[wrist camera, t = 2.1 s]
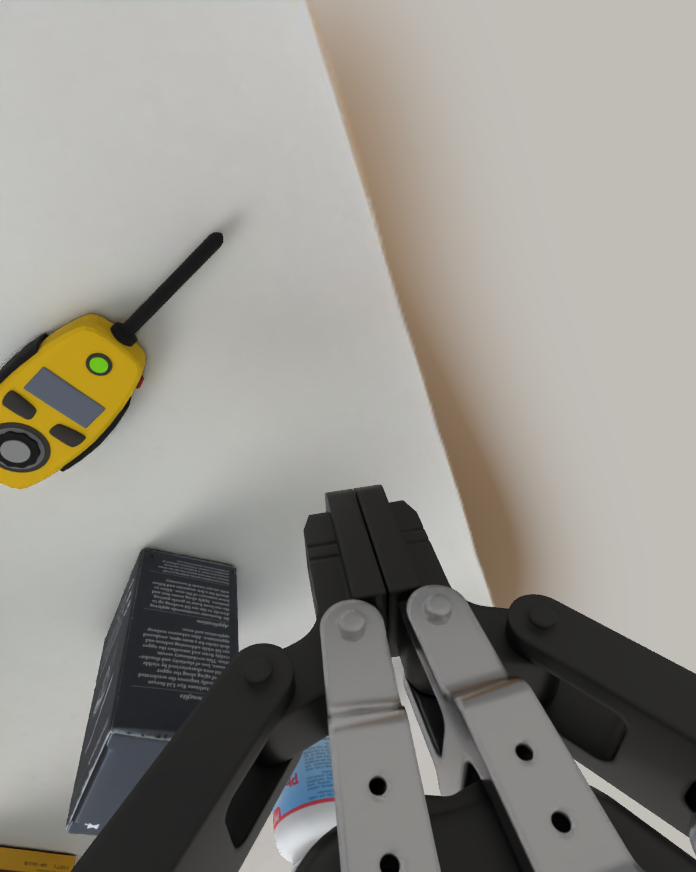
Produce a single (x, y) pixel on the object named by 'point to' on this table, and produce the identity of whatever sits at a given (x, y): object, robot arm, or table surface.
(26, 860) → the supplement box
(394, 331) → the table surface
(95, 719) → the box
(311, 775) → the pill bottle
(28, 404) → the yellow walkie talkie
